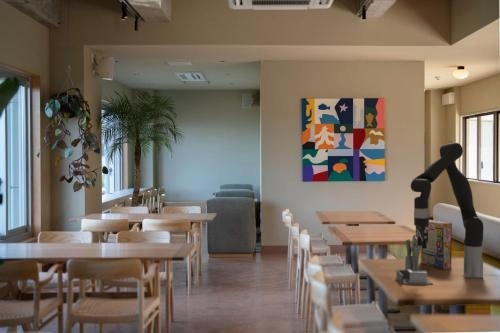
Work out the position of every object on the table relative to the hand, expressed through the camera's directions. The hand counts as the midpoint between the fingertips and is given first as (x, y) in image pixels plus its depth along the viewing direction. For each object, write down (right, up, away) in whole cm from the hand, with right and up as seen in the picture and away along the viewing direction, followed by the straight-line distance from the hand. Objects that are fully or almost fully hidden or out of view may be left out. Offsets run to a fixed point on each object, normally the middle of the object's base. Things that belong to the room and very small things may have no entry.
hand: (421, 247), depth 287 cm
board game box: (+21, -17, +39) cm, 48 cm away
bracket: (+3, -18, +26) cm, 32 cm away
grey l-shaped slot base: (-4, -18, +1) cm, 19 cm away
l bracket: (-2, -18, +1) cm, 18 cm away
